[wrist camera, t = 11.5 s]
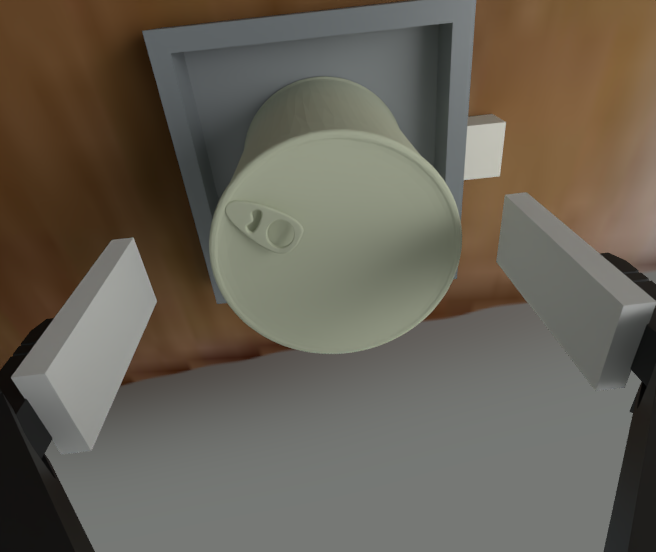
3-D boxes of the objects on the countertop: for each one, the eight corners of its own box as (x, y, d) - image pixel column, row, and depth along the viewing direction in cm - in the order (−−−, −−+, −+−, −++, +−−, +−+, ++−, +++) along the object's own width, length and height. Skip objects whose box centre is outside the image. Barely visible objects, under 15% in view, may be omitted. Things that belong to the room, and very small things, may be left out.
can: (288, 40, 23) (275, 71, 12) (434, 129, 25) (524, 215, 15) (219, 193, 27) (166, 312, 16) (352, 256, 29) (378, 392, 19)
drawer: (224, 278, 30) (217, 303, 28) (160, 27, 22) (142, 31, 20) (479, 251, 30) (495, 274, 28) (504, -10, 22) (530, -12, 20)
